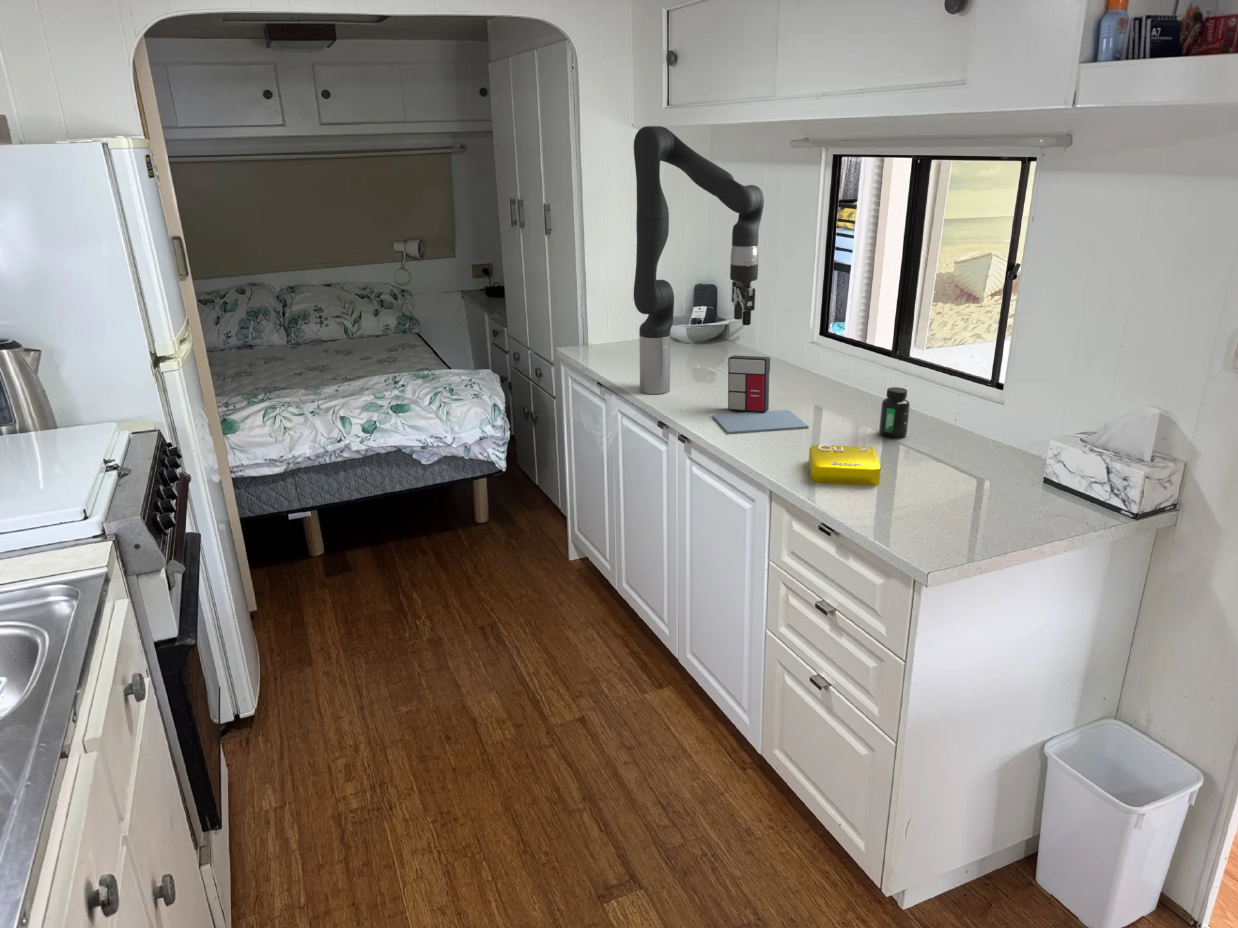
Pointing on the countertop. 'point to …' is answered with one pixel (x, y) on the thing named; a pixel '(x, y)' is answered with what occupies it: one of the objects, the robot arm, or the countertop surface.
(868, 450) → the element tile
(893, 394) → the supplement bottle
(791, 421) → the mat
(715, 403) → the countertop surface
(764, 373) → the dark grey boxy piece
